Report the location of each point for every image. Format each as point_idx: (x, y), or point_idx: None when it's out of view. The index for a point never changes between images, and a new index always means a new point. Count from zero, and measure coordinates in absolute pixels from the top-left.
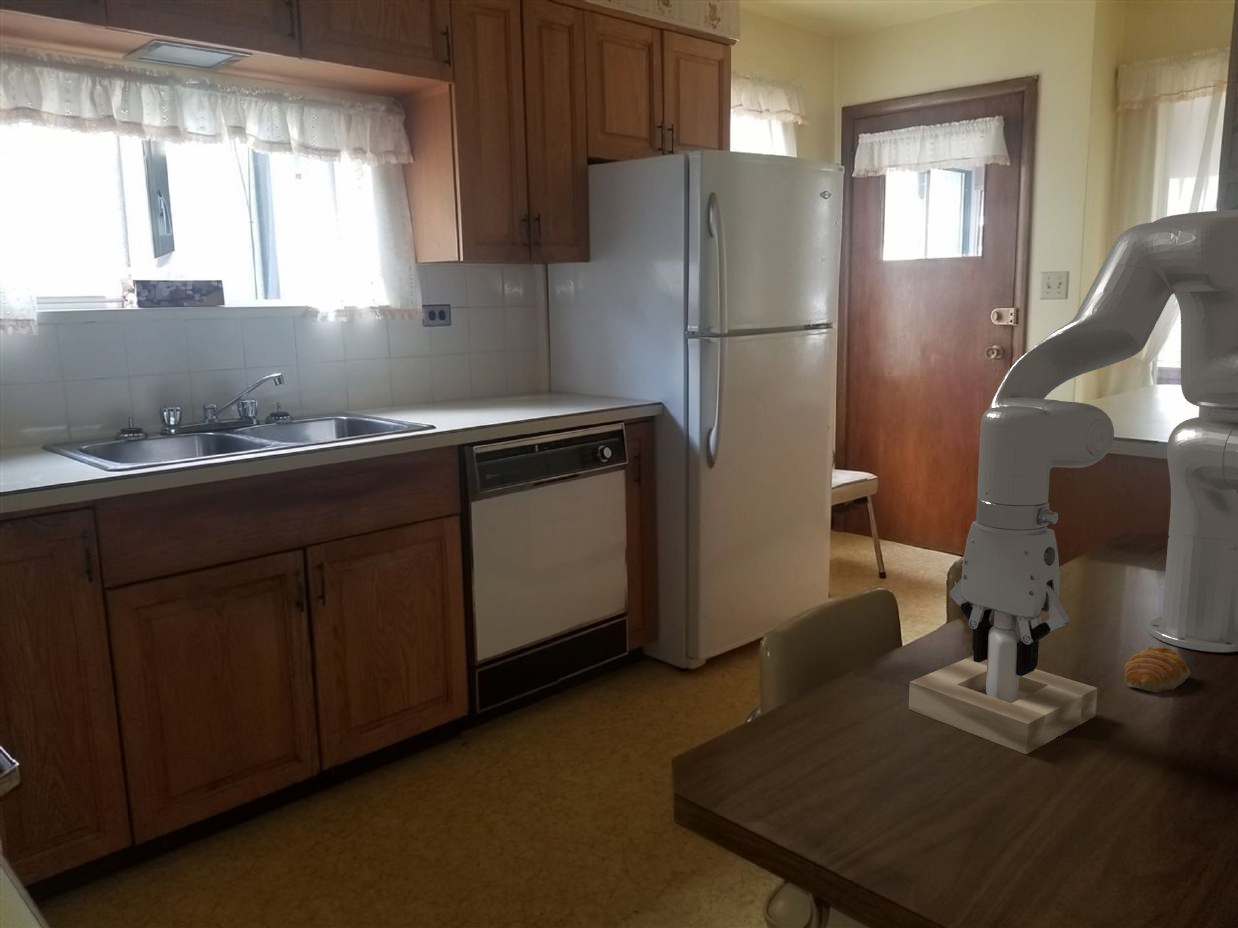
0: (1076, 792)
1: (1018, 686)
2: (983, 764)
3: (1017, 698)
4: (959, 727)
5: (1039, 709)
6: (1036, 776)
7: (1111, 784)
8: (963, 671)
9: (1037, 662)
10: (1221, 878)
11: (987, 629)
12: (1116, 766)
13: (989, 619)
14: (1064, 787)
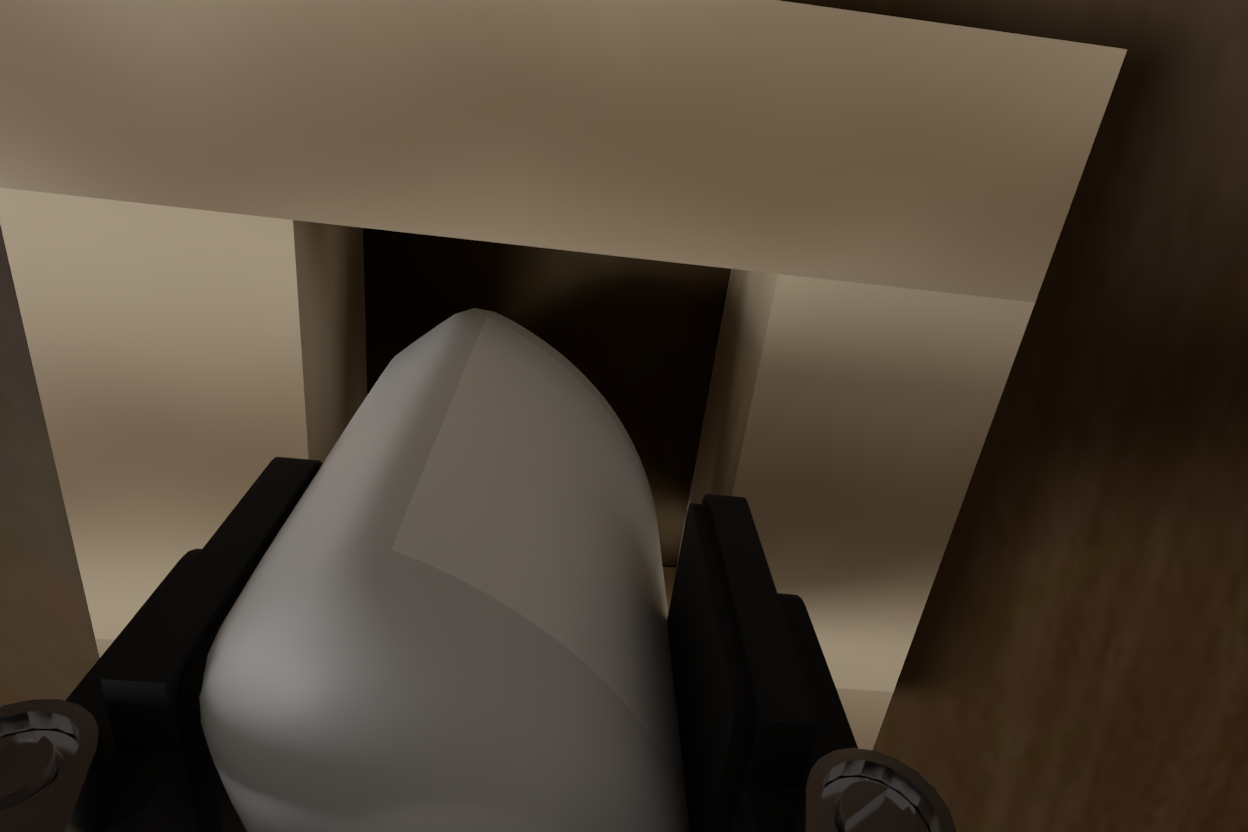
0: (1033, 799)
1: (655, 533)
2: None
3: (653, 502)
4: None
5: (847, 652)
6: None
7: (1139, 693)
8: (199, 452)
9: (804, 608)
10: None
11: (212, 800)
12: (1151, 560)
13: (90, 821)
14: (992, 795)
